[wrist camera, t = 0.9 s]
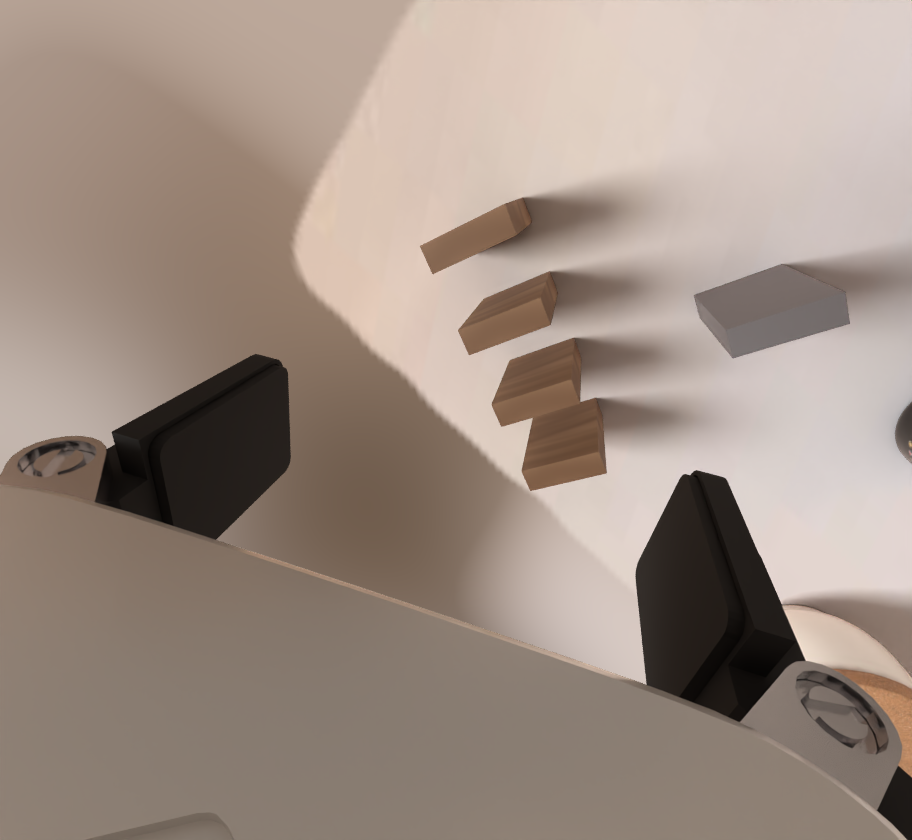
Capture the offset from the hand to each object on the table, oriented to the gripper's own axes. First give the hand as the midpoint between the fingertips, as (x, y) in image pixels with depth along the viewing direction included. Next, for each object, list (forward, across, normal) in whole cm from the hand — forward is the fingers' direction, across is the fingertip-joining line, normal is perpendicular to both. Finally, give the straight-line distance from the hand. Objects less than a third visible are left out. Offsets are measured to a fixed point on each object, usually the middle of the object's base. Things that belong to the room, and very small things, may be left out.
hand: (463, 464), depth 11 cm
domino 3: (+24, -1, +6) cm, 25 cm away
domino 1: (+24, +4, -2) cm, 25 cm away
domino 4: (+24, -4, +10) cm, 27 cm away
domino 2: (+24, +2, +2) cm, 25 cm away
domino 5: (+25, -12, -1) cm, 27 cm away
